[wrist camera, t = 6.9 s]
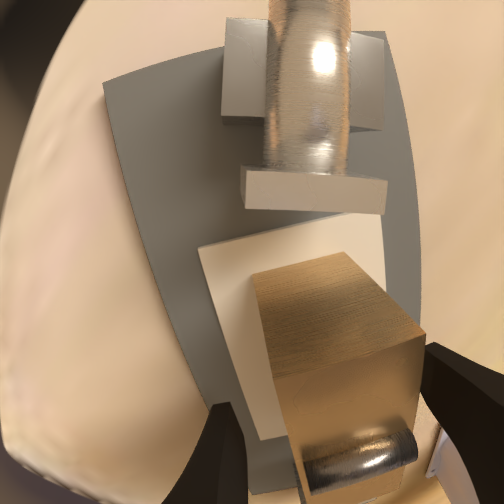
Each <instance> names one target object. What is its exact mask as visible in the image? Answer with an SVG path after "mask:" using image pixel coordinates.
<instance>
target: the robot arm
mask: <svg viewBox="0 0 504 504" xmlns="http://www.w3.org/2000/svg"><path fill="white" fill-rule="evenodd" d="M420 392H421V394H422V396H423V398H424V400H425V402H426V404H427V406H428V407H429V409H430V410H431V412H432V413H433V415H434V416H435V418H436V419H437V421H438V422H439V423H440V425H441V426H442V427H441V431H440V434H439V437H438V440H437V443H436V447H435V450H434V452H433V455H432V458H431V461H430V464H429V467H428V469H427V472H426V475H425V476H426V478H431V477H433V476H435V475H436V476H437V478H438V480H439V482H440V484H441V486H442V487H443V489H444V491H445V493H446V495H447V497H448V499H449V501H450V502H451V504H504V375H503V374H501V373H498V372H496V371H493V370H491V369H488V368H486V367H484V366H482V365H480V364H478V363H475V362H473V361H471V360H469V359H467V358H465V357H463V356H461V355H459V354H458V353H456V352H454V351H452V350H450V349H448V348H446V347H444V346H442V345H440V344H438V343H436V342H433V343H430V344H428V345H425V353H424V362H423V371H422V379H421V387H420ZM161 504H248V463H247V453H246V445H245V439H244V434H243V432H242V429H241V427H240V425H239V422H238V420H237V417H236V415H235V412H234V410H233V407H232V405H231V402H224V403H218V404H213V405H212V407H211V409H210V412H209V415H208V418H207V421H206V424H205V426H204V429H203V431H202V434H201V436H200V439H199V441H198V443H197V445H196V447H195V450H194V452H193V454H192V456H191V458H190V460H189V462H188V463H187V465H186V467H185V469H184V471H183V473H182V474H181V476H180V478H179V479H178V481H177V483H176V484H175V486H174V487H173V489H172V490H171V491H170V493H169V494H168V496H167V497H166V498H165V500H164V501H163V502H162V503H161Z"/></svg>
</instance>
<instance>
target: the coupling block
mask: <svg viewBox="0 0 504 504" xmlns="http://www.w3.org/2000/svg"><path fill="white" fill-rule="evenodd" d="M252 277H253V282H254V287H255V292H256V297H257V303H258V308H259V313H260V318H261V323H262V328H263V333H264V338H265V343H266V348H267V353H268V358H269V363H270V368H271V373H272V377H273V382H274V386H275V390H276V393H277V397H278V401H279V404H280V408H281V412H282V415H283V419H284V423H285V427H286V430H287V434H288V438H289V441H290V445H291V448H292V452H293V456H294V459H295V463H296V467H297V470H298V474H299V477H300V481H301V485H302V488H303V492H304V495H305V499H306V502H307V504H357V503H361V502H364V501H367V500H370V499H372V498H375V497H378V496H381V495H383V494H386V493H389V492H391V491H394V490H396V489H399V487H400V483H401V479H402V476H403V472H404V468H405V465H407V464H410V463H412V462H414V461H416V460H417V458H418V447H417V443H416V440H415V437H414V435H413V428H414V423H415V418H416V412H417V406H418V400H419V394H420V387H421V379H422V371H423V362H424V353H425V341H426V333H425V332H424V331H423V330H422V329H421V328H420V326H419V325H418V324H417V323H416V322H415V321H414V320H413V319H412V318H411V317H410V316H409V315H408V314H407V313H406V312H405V311H404V310H403V309H402V308H401V307H400V306H399V305H398V304H397V303H396V302H395V301H394V300H393V299H392V298H391V297H390V296H389V295H388V294H387V293H386V292H385V291H384V290H383V289H382V288H381V287H380V286H379V285H378V284H377V283H376V282H375V281H374V280H373V279H372V278H371V277H370V276H369V275H368V274H367V273H366V272H365V271H364V270H363V269H362V268H361V267H360V266H359V265H358V264H357V263H355V262H354V261H353V260H352V259H351V258H350V257H349V256H348V255H347V254H346V253H345V252H344V251H343V252H339V253H335V254H331V255H327V256H323V257H319V258H315V259H311V260H307V261H303V262H299V263H295V264H291V265H287V266H283V267H279V268H275V269H271V270H267V271H263V272H259V273H254V274H252Z"/></svg>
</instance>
